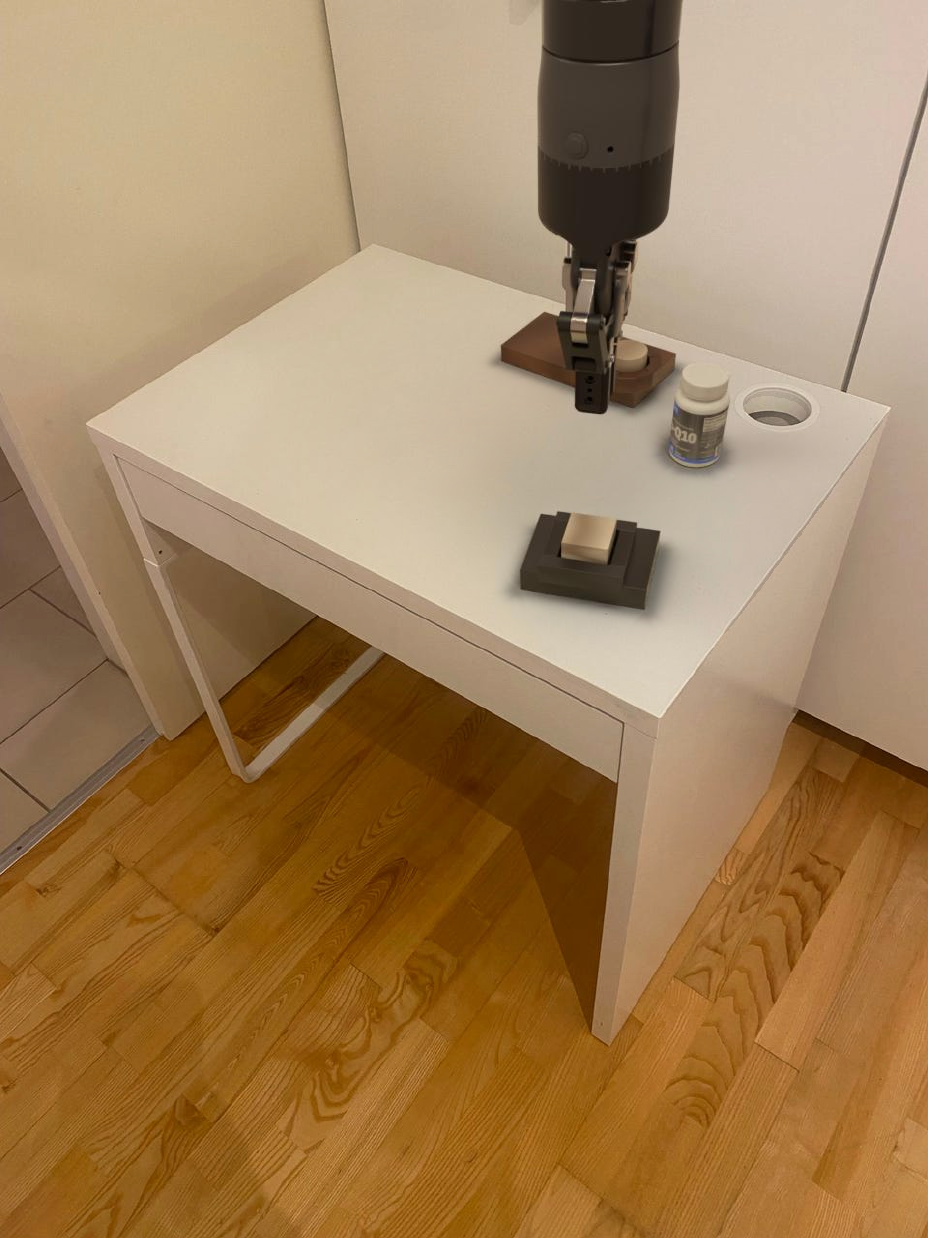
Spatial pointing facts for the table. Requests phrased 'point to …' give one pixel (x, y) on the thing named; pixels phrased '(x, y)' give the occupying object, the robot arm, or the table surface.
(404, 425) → the table surface
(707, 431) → the pill bottle
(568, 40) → the robot arm
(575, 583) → the key box
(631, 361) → the far key
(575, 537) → the near key
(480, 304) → the table surface
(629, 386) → the brown flat piece
